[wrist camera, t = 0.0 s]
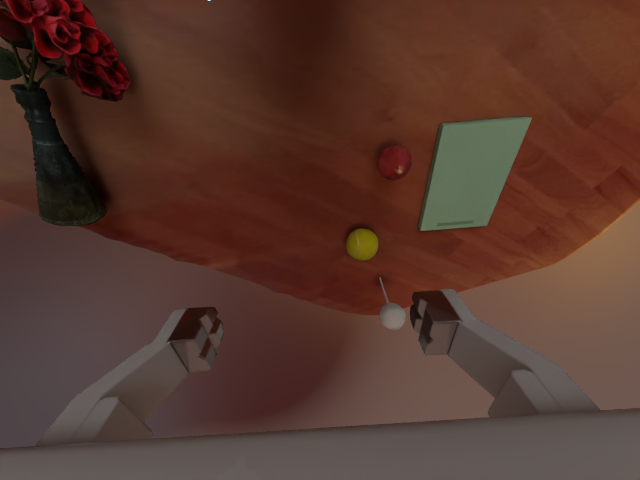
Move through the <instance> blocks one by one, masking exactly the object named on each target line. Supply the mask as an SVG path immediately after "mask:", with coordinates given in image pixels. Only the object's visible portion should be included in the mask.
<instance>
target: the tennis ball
mask: <svg viewBox="0 0 640 480" xmlns="http://www.w3.org/2000/svg"><path fill="white" fill-rule="evenodd" d="M346 248H347V251H348V253H349V254H350V255H351V256H352V257H353V258H355V259H357V260H368V259H371V258H372V257H373V256H374V255H375V254H376V252H377V250H378V239H377V237H376V235H375V234H374V233H373V232H372V231H370V230H367V229H356V230H354V231H353V232H351V234H350V235H349V236H348V238H347V242H346Z"/></svg>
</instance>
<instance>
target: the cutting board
mask: <svg viewBox="0 0 640 480" xmlns="http://www.w3.org/2000/svg"><path fill="white" fill-rule="evenodd" d="M531 119H532V118H530V117H514V118H502V119H491V120H479V121H467V122H455V123H444V124H440V125H439V130H438V134H437V139H436V144H435V149H434V153H433V158H432V163H431V168H430V172H429V177H428V182H427V187H426V191H425V196H424V201H423V206H422V210H421V215H420V220H419V224H418V228H419V230H420V231H426V230H439V229H452V228H465V227H477V226H487V224H488V222H489V219H490V217H491V215H492V212H493V210H494V207H495V205H496V203H497V200H498V198H499V196H500V193H501V191H502V188H503V186H504V184H505V181H506V179H507V176H508V174H509V172H510V169H511V167H512V164H513V162H514V160H515V157H516V155H517V153H518V150H519V148H520V145H521V143H522V141H523V138H524V136H525V133H526V131H527V129H528V126H529V124H530V121H531Z"/></svg>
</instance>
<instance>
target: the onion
mask: <svg viewBox="0 0 640 480" xmlns="http://www.w3.org/2000/svg"><path fill="white" fill-rule="evenodd" d="M411 165H412V161H411V155H410V154H409V152H408V150H407V149H405V148H404V147H402V146H397V145H392V146H389V147H387V148H385V149H384V150H382V152H381V153H380V155H379V156H378V160H377V169H378V171H379V173H380V175H381V176H383V177H384V178H386V179H389V180H397V179H400V178H402V177H404V176H405V175H406V174H407V173H408V172H409V170H410V167H411Z"/></svg>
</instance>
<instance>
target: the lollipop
mask: <svg viewBox="0 0 640 480" xmlns="http://www.w3.org/2000/svg"><path fill="white" fill-rule="evenodd" d="M379 280H380V283H381V286H382V289H383V292H384V295H385V298H386V302H387V304H385V305H384V306H382V308H381V309H380V312H379V319H380V322H381V323H382V324H383V325H384V326H385V327H387V328H389V329H398V328H400V327H402V326H403V324H404V322H405V319H406V318H405V317H406V315H405V311H404V310H403V309H402V307H400V306H399V305H398V304H395V303H389V302H388V298H387V295H386V292H385V289H384V286H383V283H382V280H381V278H379Z"/></svg>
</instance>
